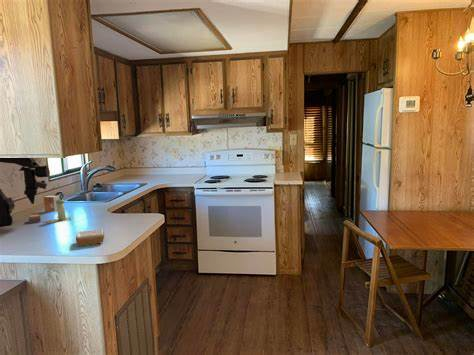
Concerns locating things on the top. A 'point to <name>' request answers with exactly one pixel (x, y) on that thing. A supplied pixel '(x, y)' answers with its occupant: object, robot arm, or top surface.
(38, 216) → the button
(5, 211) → the robot arm
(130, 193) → the top surface
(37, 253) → the top surface
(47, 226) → the top surface
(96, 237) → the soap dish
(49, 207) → the small box
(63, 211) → the ball
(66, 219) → the picture board
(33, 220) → the button housing
